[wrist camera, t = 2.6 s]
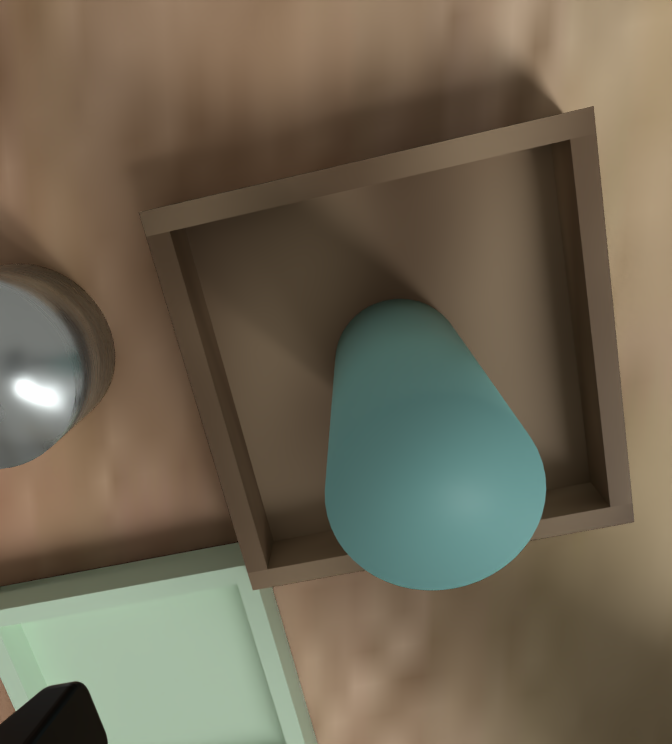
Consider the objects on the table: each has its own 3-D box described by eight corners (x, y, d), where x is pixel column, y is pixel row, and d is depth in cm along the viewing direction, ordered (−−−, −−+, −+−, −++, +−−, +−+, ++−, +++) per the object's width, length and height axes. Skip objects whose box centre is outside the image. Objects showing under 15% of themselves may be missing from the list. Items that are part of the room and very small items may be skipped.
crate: (565, 114, 17) (593, 106, 15) (606, 488, 20) (634, 522, 18) (162, 208, 17) (138, 212, 16) (261, 552, 20) (252, 590, 19)
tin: (84, 245, 18) (33, 258, 15) (137, 409, 19) (101, 448, 16) (-80, 283, 18) (-160, 303, 15) (-16, 440, 20) (-78, 485, 17)
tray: (257, 538, 20) (251, 564, 19) (320, 754, 23) (318, 790, 22) (-5, 587, 21) (-28, 615, 20) (84, 790, 24) (68, 827, 22)
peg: (450, 286, 17) (530, 370, 10) (471, 407, 18) (558, 570, 11) (322, 313, 18) (302, 417, 10) (349, 431, 19) (350, 606, 11)
